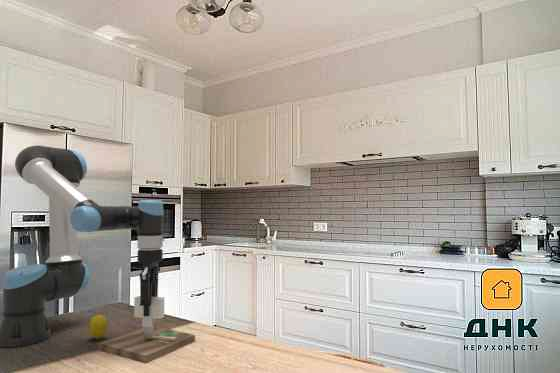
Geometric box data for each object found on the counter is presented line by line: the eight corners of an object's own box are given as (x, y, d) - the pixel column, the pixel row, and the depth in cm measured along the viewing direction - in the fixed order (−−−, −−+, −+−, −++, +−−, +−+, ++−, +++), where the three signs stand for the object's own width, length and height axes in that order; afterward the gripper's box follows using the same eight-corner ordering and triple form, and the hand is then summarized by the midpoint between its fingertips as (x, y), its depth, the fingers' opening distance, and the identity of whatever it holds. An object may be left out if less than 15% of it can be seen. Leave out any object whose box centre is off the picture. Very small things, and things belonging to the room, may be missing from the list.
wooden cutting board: (99, 350, 117) (99, 342, 117) (150, 331, 134) (150, 325, 134) (145, 363, 107) (146, 355, 107) (195, 341, 125) (195, 334, 125)
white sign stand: (133, 338, 121) (134, 297, 121) (138, 335, 123) (138, 295, 124) (173, 341, 118) (173, 299, 118) (177, 338, 120) (177, 298, 121)
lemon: (99, 342, 123) (100, 317, 124) (84, 341, 124) (85, 316, 125) (110, 337, 129) (111, 312, 129) (96, 335, 130) (96, 311, 130)
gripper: (155, 251, 114) (154, 332, 113) (168, 246, 131) (167, 316, 129) (129, 251, 114) (127, 333, 113) (145, 246, 130) (144, 317, 129)
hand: (148, 324), depth 121 cm, fingers closed on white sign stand, 3 cm apart
